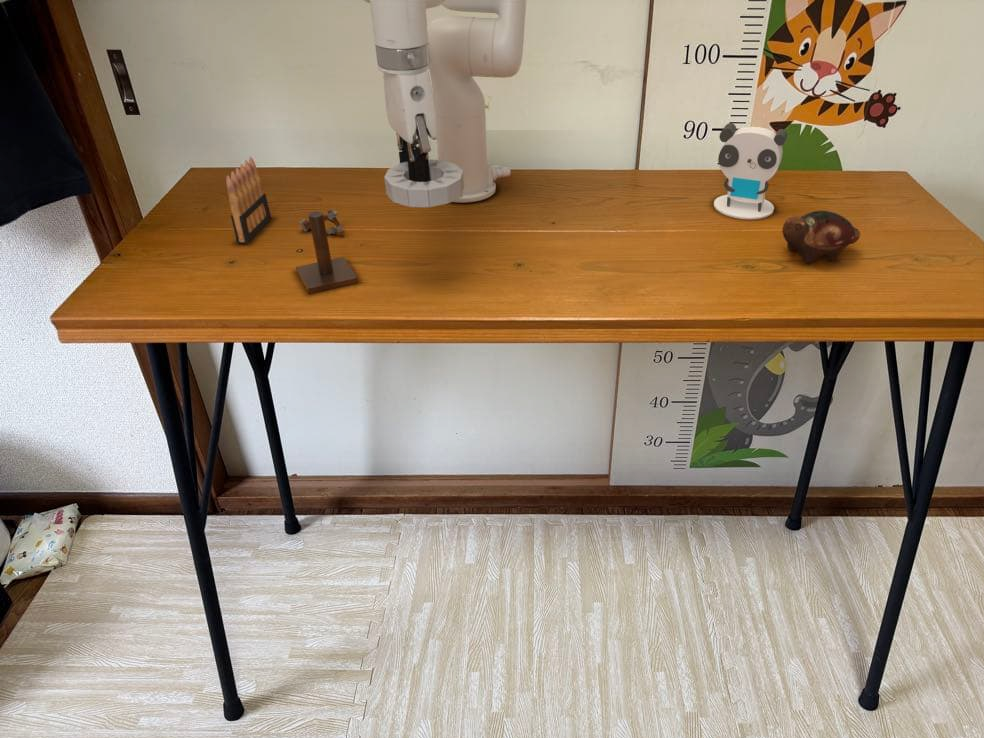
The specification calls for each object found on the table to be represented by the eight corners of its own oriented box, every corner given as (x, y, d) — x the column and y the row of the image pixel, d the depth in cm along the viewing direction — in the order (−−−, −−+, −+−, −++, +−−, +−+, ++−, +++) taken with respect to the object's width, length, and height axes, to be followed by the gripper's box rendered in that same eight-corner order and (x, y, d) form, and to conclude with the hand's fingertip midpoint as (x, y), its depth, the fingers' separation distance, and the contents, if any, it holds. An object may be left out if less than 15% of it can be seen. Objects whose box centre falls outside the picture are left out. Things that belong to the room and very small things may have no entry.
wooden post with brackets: (344, 233, 136) (331, 210, 134) (312, 244, 139) (299, 221, 137) (350, 229, 137) (337, 206, 135) (317, 240, 141) (304, 217, 139)
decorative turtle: (760, 252, 133) (770, 207, 129) (828, 242, 139) (840, 199, 134) (796, 274, 126) (808, 227, 122) (867, 263, 131) (881, 218, 127)
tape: (446, 171, 125) (444, 154, 123) (474, 198, 117) (474, 180, 115) (377, 184, 121) (375, 167, 119) (402, 213, 113) (400, 195, 111)
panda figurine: (704, 212, 146) (716, 133, 137) (717, 191, 154) (728, 115, 145) (768, 223, 143) (784, 142, 133) (777, 200, 151) (793, 123, 142)
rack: (344, 262, 129) (334, 200, 123) (358, 282, 124) (348, 219, 117) (296, 272, 126) (283, 209, 120) (309, 294, 121) (295, 229, 114)
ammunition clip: (247, 244, 134) (230, 177, 127) (237, 243, 134) (219, 177, 127) (271, 218, 143) (257, 154, 135) (262, 218, 143) (247, 154, 135)
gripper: (449, 67, 106) (457, 194, 117) (408, 40, 117) (419, 158, 129) (397, 75, 103) (411, 204, 115) (360, 45, 114) (376, 165, 126)
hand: (415, 178), depth 121 cm, fingers closed on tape, 3 cm apart
